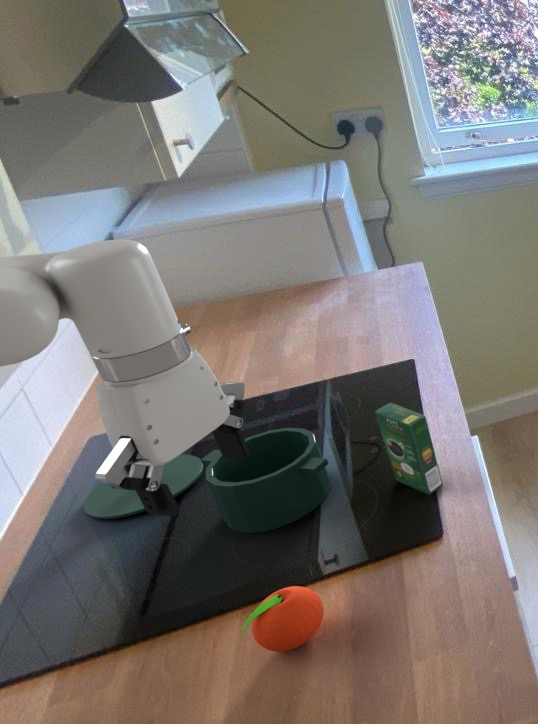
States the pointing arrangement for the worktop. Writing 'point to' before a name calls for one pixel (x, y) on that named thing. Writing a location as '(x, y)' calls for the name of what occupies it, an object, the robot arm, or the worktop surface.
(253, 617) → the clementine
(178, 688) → the worktop surface
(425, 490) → the coffee box
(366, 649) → the worktop surface
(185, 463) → the lid
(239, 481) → the pot
